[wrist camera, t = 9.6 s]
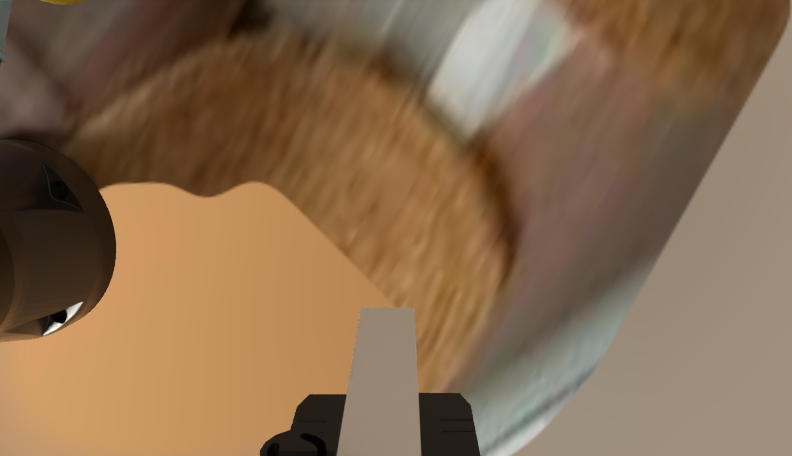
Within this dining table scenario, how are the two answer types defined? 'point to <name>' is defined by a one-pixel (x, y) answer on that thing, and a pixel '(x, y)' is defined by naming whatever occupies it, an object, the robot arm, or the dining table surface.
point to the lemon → (63, 1)
